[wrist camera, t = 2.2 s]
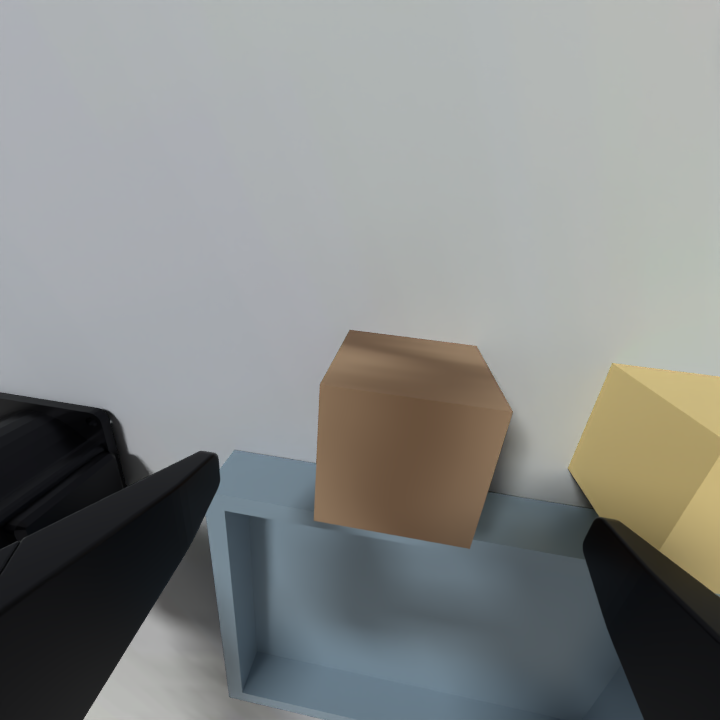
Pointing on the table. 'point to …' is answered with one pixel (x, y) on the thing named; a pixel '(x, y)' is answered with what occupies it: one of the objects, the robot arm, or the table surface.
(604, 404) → the ochre block
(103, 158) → the table surface
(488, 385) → the walnut block
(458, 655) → the slate tray
